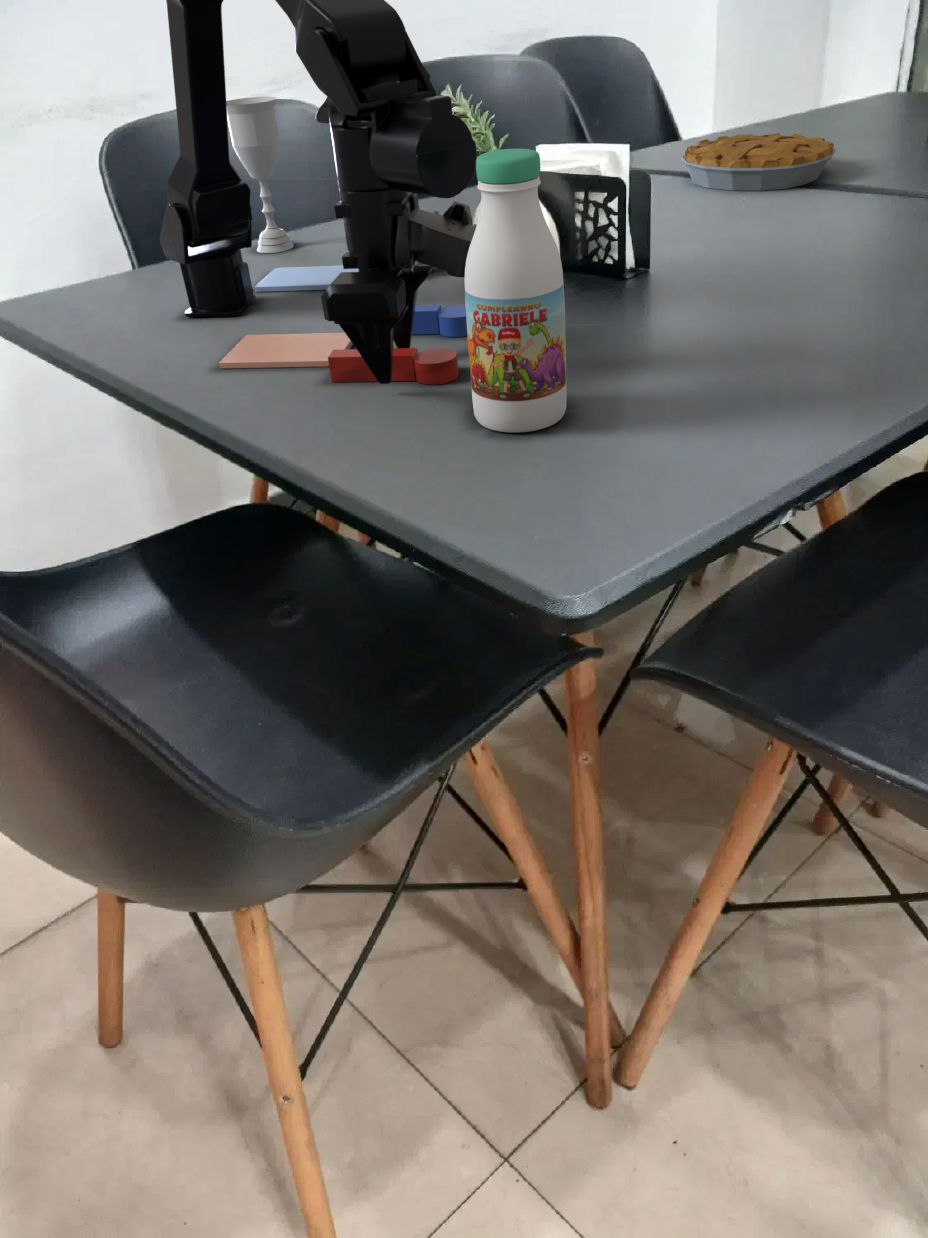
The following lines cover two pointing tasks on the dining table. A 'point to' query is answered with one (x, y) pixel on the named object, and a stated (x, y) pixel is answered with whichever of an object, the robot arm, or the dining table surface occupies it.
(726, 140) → the pie
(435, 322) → the blue bar with disc
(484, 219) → the milk bottle
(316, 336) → the pink flat board
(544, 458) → the dining table surface
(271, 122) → the chalice
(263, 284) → the mat blue
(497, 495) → the dining table surface
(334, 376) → the red bar with disc
